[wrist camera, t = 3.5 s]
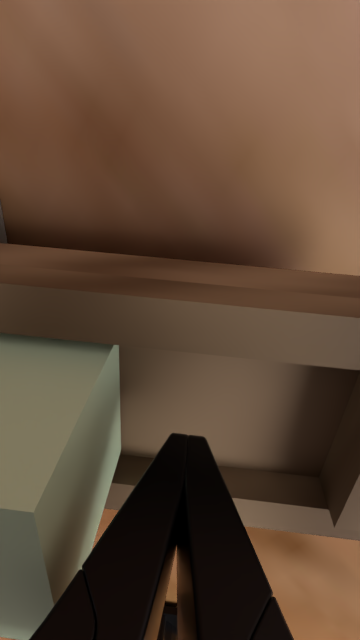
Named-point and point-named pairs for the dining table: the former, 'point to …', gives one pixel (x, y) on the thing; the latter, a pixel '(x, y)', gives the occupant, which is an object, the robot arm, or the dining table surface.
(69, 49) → the dining table surface
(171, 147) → the dining table surface
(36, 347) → the pale green cube
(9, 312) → the beam
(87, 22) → the dining table surface
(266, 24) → the dining table surface
